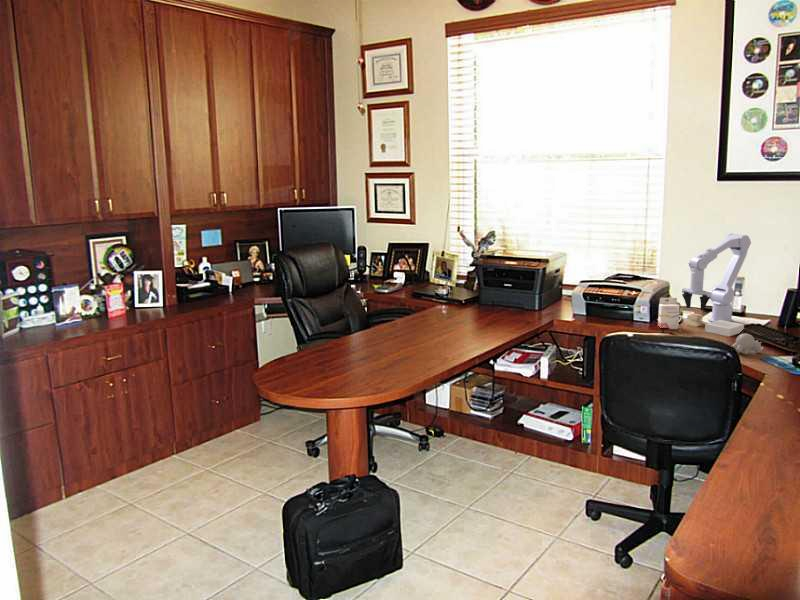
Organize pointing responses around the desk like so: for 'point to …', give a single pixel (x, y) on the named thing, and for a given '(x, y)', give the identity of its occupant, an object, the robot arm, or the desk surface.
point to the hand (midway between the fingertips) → (695, 308)
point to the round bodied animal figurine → (747, 344)
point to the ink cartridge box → (668, 313)
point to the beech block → (694, 319)
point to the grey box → (724, 328)
